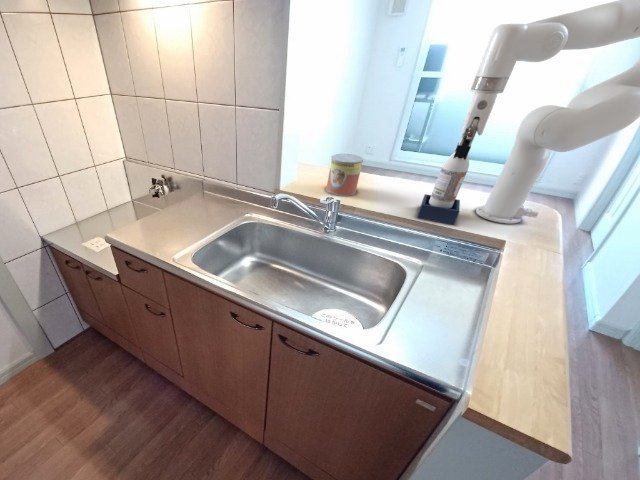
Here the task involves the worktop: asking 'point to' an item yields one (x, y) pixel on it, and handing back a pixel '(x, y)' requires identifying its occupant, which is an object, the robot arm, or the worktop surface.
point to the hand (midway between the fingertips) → (459, 158)
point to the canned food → (344, 174)
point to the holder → (438, 211)
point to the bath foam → (449, 181)
